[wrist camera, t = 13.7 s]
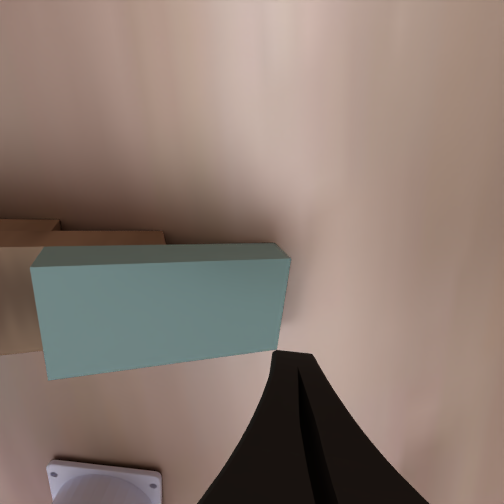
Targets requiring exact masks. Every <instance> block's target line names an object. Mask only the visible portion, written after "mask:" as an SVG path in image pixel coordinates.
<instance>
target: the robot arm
mask: <svg viewBox="0 0 504 504" xmlns="http://www.w3.org/2000/svg"><path fill="white" fill-rule="evenodd" d="M46 469H47V474H48V479H49V484H50V489H51V493H52V498H53V502H52V504H162V476H161V474H160V473H159V472H156V471H150V470H141V469H132V468H124V467H115V466H106V465H97V464H89V463H80V462H71V461H63V460H51V461H50V462H49V463H48V465H47V467H46ZM197 504H429V503H428V502H427V501H426V500H425V499H424V498H423V497H422V496H421V495H420V494H419V493H418V492H417V491H416V490H415V489H414V488H413V487H412V486H411V485H410V484H409V483H408V482H407V481H406V480H405V479H404V478H403V477H402V476H401V475H400V474H399V473H398V472H397V471H396V470H395V469H394V467H393V466H392V465H391V464H390V463H389V462H388V461H387V460H386V459H385V457H384V456H383V455H382V454H381V453H380V452H379V450H378V449H377V448H376V447H375V446H374V445H373V443H372V442H371V441H370V440H369V438H368V437H367V436H366V435H365V433H364V432H363V431H362V430H361V428H360V427H359V425H358V424H357V423H356V421H355V420H354V419H353V417H352V416H351V415H350V413H349V412H348V410H347V409H346V408H345V406H344V405H343V403H342V402H341V400H340V399H339V397H338V396H337V394H336V393H335V391H334V390H333V388H332V386H331V385H330V383H329V382H328V380H327V378H326V377H325V375H324V373H323V372H322V370H321V368H320V366H319V365H318V363H317V361H316V359H315V357H314V356H313V355H312V354H308V353H299V352H290V351H280V350H276V351H274V352H273V353H272V360H271V367H270V374H269V378H268V381H267V383H266V386H265V389H264V392H263V395H262V397H261V399H260V402H259V404H258V406H257V408H256V411H255V413H254V415H253V417H252V419H251V421H250V423H249V425H248V427H247V429H246V431H245V432H244V434H243V436H242V438H241V440H240V441H239V443H238V445H237V446H236V448H235V450H234V451H233V453H232V455H231V456H230V458H229V459H228V461H227V462H226V464H225V466H224V467H223V469H222V470H221V472H220V473H219V474H218V476H217V477H216V478H215V480H214V481H213V483H212V484H211V485H210V487H209V488H208V490H207V491H206V492H205V494H204V495H203V496H202V498H201V499H200V500H199V502H198V503H197Z"/></svg>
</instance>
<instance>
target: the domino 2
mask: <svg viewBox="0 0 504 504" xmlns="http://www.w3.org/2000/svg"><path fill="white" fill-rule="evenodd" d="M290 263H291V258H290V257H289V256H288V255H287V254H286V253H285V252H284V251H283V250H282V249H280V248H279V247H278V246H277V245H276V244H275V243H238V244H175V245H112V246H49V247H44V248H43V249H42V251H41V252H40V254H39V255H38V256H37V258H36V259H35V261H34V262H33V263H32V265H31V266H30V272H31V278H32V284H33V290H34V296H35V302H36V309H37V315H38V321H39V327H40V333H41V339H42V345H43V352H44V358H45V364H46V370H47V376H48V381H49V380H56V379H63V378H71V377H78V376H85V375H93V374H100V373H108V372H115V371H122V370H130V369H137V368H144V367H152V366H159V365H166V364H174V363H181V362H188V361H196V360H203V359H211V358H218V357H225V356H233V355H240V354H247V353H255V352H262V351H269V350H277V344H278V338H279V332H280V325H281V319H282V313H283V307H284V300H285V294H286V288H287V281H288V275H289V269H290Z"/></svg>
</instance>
